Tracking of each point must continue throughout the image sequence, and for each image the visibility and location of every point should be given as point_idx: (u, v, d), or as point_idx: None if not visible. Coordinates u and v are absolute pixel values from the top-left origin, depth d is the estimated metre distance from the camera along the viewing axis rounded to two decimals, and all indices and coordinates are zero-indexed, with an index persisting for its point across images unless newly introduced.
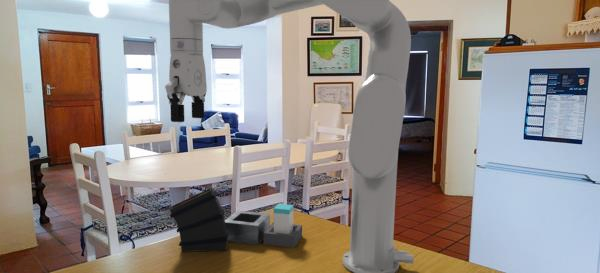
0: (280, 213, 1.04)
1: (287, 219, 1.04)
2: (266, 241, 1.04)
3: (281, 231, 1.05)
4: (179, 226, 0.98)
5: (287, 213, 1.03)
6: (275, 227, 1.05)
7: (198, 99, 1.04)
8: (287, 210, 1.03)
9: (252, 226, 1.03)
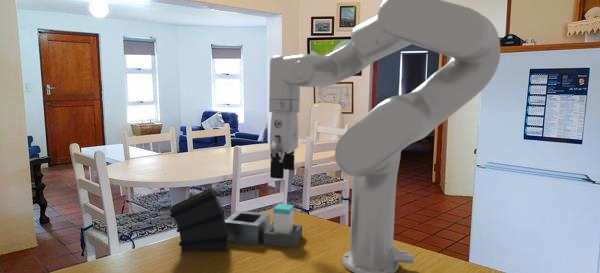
0: (280, 213, 1.04)
1: (287, 219, 1.04)
2: (266, 241, 1.04)
3: (281, 231, 1.05)
4: (179, 226, 0.98)
5: (287, 213, 1.03)
6: (275, 227, 1.05)
7: None
8: (287, 210, 1.03)
9: (252, 226, 1.03)
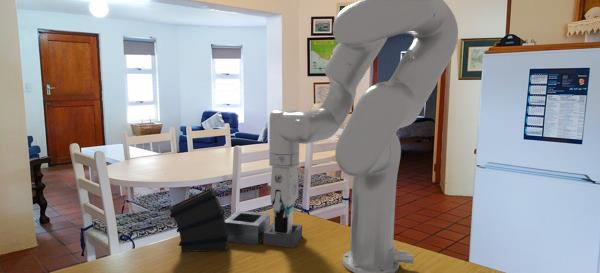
0: None
1: None
2: (266, 241, 1.04)
3: None
4: (179, 226, 0.98)
5: (287, 213, 1.03)
6: (274, 226, 1.05)
7: None
8: (287, 210, 1.03)
9: (252, 226, 1.03)
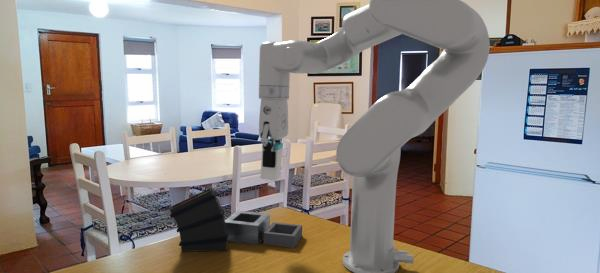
0: None
1: None
2: (266, 241, 1.04)
3: (268, 167, 1.03)
4: (179, 226, 0.98)
5: (276, 149, 1.02)
6: None
7: None
8: (276, 146, 1.02)
9: (252, 226, 1.03)
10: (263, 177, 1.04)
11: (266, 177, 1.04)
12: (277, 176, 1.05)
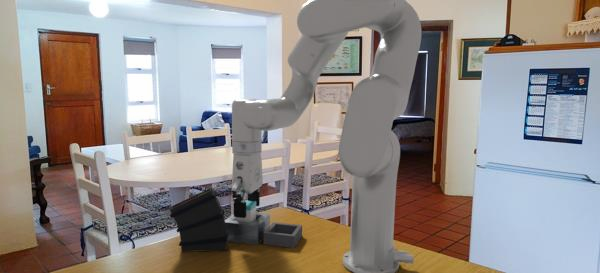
0: None
1: (249, 215, 1.06)
2: (266, 241, 1.04)
3: None
4: (179, 226, 0.98)
5: (249, 209, 1.06)
6: None
7: None
8: (249, 206, 1.06)
9: (252, 226, 1.03)
10: None
11: None
12: None
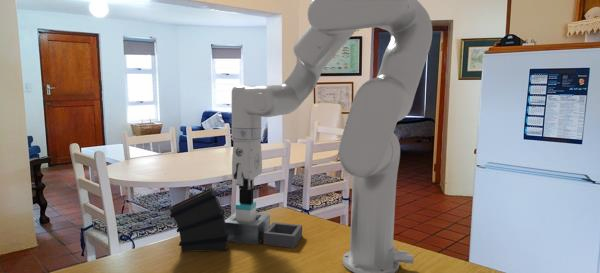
0: (242, 210, 1.06)
1: (249, 215, 1.06)
2: (266, 241, 1.04)
3: None
4: (179, 226, 0.98)
5: (248, 209, 1.06)
6: None
7: None
8: (248, 206, 1.06)
9: (252, 226, 1.03)
10: None
11: None
12: None
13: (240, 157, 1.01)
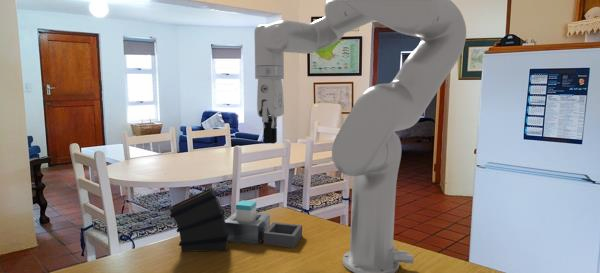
0: (242, 209, 1.06)
1: (249, 215, 1.06)
2: (266, 241, 1.04)
3: None
4: (179, 226, 0.98)
5: (249, 209, 1.06)
6: None
7: None
8: (249, 206, 1.06)
9: (252, 226, 1.03)
10: None
11: None
12: None
13: (265, 93, 1.04)
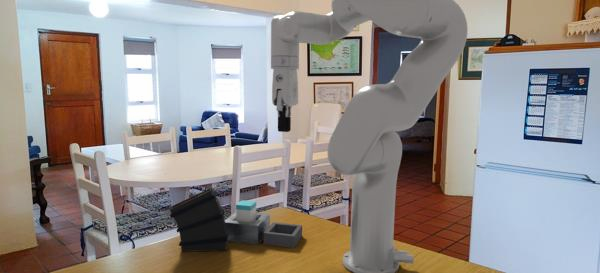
0: (242, 209, 1.06)
1: (249, 215, 1.06)
2: (266, 241, 1.04)
3: None
4: (179, 226, 0.98)
5: (249, 209, 1.06)
6: None
7: None
8: (249, 206, 1.06)
9: (252, 226, 1.03)
10: None
11: None
12: None
13: (280, 83, 1.07)
